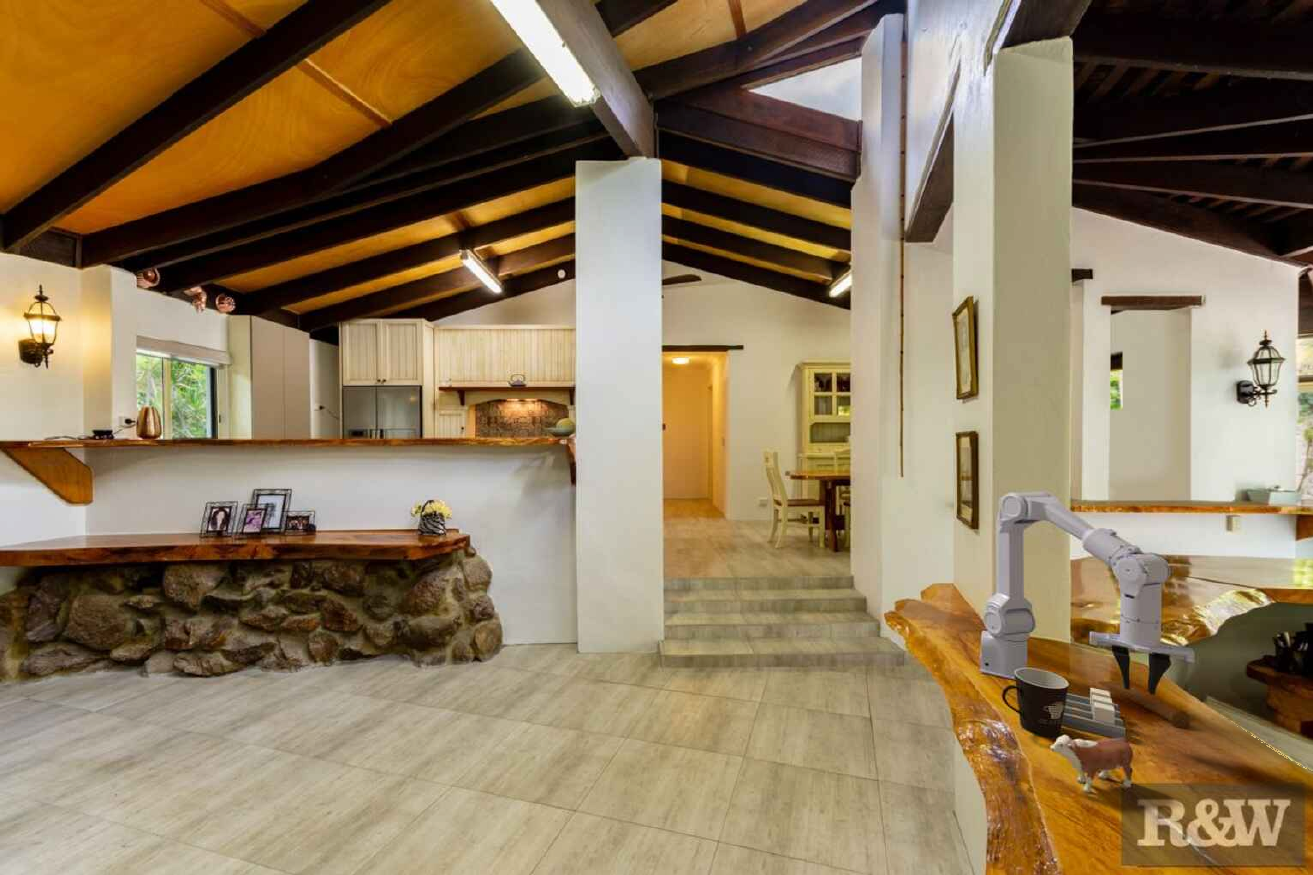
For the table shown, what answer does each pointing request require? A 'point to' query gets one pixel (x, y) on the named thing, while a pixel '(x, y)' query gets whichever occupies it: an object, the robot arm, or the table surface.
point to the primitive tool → (1150, 704)
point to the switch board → (1090, 718)
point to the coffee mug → (1039, 701)
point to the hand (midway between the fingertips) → (1138, 690)
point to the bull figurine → (1096, 757)
